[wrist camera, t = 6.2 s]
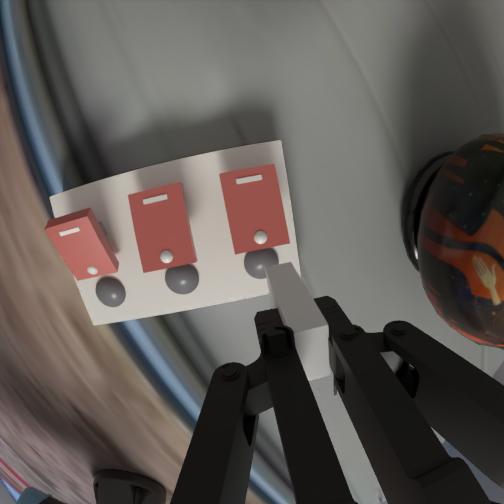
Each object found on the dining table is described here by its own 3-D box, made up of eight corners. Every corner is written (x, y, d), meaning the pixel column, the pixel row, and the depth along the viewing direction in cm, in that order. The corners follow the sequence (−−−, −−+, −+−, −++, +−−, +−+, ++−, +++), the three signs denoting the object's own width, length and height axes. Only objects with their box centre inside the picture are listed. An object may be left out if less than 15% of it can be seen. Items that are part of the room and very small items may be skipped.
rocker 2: (151, 268, 26) (143, 273, 24) (137, 197, 26) (127, 194, 23) (199, 258, 27) (195, 262, 24) (184, 185, 26) (179, 181, 23)
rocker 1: (82, 261, 27) (77, 281, 26) (53, 210, 23) (44, 229, 21) (121, 252, 28) (117, 272, 26) (94, 197, 23) (87, 216, 21)
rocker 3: (234, 251, 27) (235, 254, 24) (220, 178, 26) (218, 173, 24) (284, 241, 27) (290, 243, 24) (270, 169, 26) (274, 163, 24)
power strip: (101, 311, 32) (93, 326, 29) (62, 191, 27) (48, 197, 24) (294, 274, 33) (302, 287, 30) (274, 140, 28) (281, 140, 25)
